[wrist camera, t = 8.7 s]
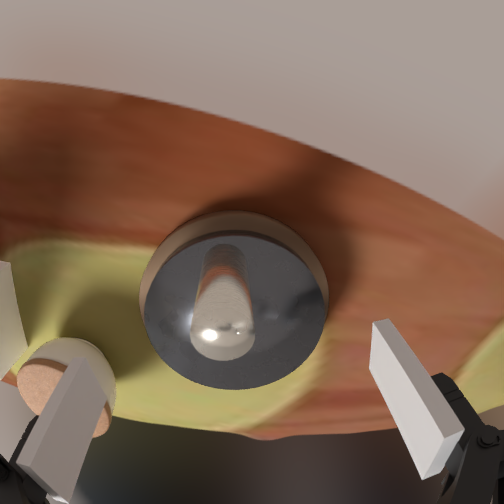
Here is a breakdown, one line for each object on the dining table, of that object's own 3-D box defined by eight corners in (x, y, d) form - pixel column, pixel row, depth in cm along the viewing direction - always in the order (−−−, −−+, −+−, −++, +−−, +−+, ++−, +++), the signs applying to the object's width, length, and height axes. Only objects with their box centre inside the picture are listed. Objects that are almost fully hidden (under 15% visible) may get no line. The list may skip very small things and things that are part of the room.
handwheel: (319, 364, 30) (349, 450, 20) (172, 381, 30) (157, 470, 20) (316, 218, 25) (371, 278, 15) (130, 243, 25) (74, 314, 14)
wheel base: (318, 360, 33) (322, 371, 31) (163, 371, 32) (160, 383, 31) (325, 204, 27) (332, 209, 25) (129, 219, 26) (122, 225, 24)
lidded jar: (122, 328, 30) (93, 391, 21) (131, 398, 34) (114, 458, 25) (37, 312, 29) (-5, 363, 20) (55, 381, 33) (28, 433, 24)
